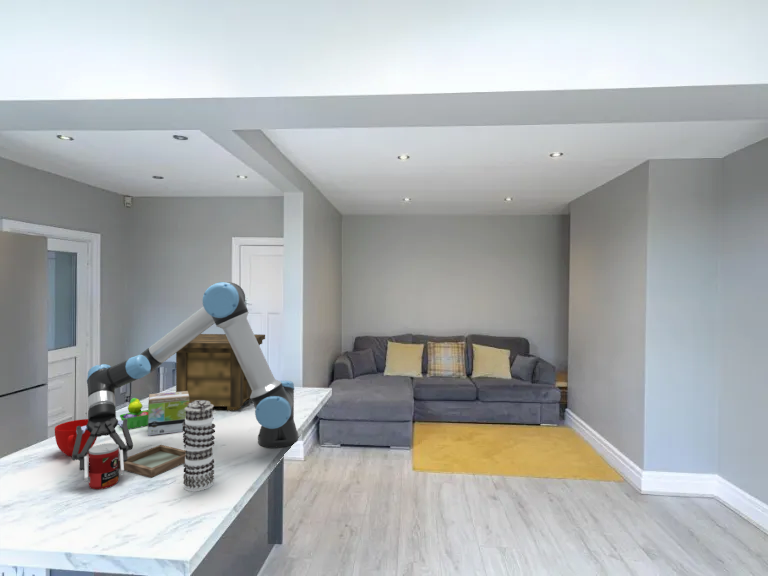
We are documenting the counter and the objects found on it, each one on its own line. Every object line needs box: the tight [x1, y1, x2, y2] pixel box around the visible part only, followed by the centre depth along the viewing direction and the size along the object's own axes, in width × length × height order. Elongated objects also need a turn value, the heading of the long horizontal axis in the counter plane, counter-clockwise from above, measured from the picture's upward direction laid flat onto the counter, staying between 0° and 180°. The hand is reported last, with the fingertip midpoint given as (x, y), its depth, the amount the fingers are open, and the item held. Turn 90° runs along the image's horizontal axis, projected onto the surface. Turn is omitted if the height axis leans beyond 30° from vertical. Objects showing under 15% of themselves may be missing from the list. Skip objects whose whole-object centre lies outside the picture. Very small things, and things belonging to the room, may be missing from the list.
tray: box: [119, 444, 186, 479], centre depth 147 cm, size 16×16×2 cm
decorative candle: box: [182, 400, 216, 492], centre depth 132 cm, size 9×9×25 cm
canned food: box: [87, 442, 120, 490], centre depth 132 cm, size 8×8×11 cm
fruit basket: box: [119, 397, 148, 430], centre depth 186 cm, size 11×9×11 cm
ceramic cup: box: [54, 418, 98, 457], centre depth 155 cm, size 13×17×10 cm
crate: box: [175, 333, 266, 412], centre depth 222 cm, size 35×35×33 cm
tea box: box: [147, 391, 189, 437], centre depth 181 cm, size 15×10×15 cm, turn 117°
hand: (104, 475), depth 130 cm, fingers open, 8 cm apart
